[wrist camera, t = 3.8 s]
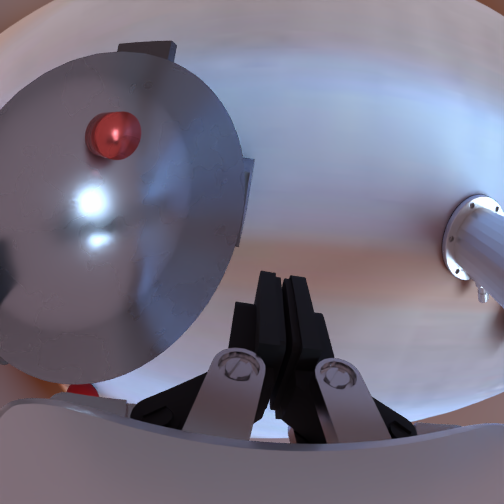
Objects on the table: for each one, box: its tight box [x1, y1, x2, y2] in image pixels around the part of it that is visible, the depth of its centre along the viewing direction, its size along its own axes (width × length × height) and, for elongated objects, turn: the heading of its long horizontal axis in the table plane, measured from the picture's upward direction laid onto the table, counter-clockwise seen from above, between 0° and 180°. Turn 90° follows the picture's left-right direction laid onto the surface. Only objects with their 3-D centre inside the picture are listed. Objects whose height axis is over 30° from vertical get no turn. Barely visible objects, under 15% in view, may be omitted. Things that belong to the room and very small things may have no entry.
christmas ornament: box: [67, 384, 99, 397], centre depth 43 cm, size 7×7×10 cm
